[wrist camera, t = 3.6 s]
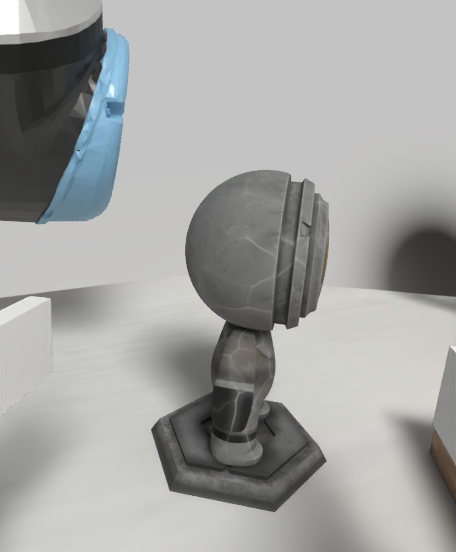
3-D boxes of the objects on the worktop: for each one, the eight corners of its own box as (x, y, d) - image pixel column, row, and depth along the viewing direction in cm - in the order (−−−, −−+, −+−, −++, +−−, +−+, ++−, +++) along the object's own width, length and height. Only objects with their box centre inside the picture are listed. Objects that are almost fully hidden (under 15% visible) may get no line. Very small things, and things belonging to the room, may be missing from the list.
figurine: (329, 523, 19) (385, 180, 16) (120, 480, 21) (126, 159, 17) (323, 418, 28) (359, 176, 24) (173, 393, 29) (185, 162, 25)
